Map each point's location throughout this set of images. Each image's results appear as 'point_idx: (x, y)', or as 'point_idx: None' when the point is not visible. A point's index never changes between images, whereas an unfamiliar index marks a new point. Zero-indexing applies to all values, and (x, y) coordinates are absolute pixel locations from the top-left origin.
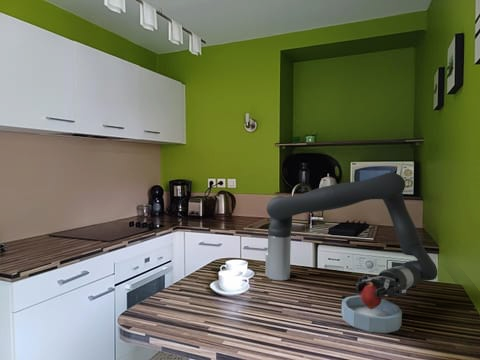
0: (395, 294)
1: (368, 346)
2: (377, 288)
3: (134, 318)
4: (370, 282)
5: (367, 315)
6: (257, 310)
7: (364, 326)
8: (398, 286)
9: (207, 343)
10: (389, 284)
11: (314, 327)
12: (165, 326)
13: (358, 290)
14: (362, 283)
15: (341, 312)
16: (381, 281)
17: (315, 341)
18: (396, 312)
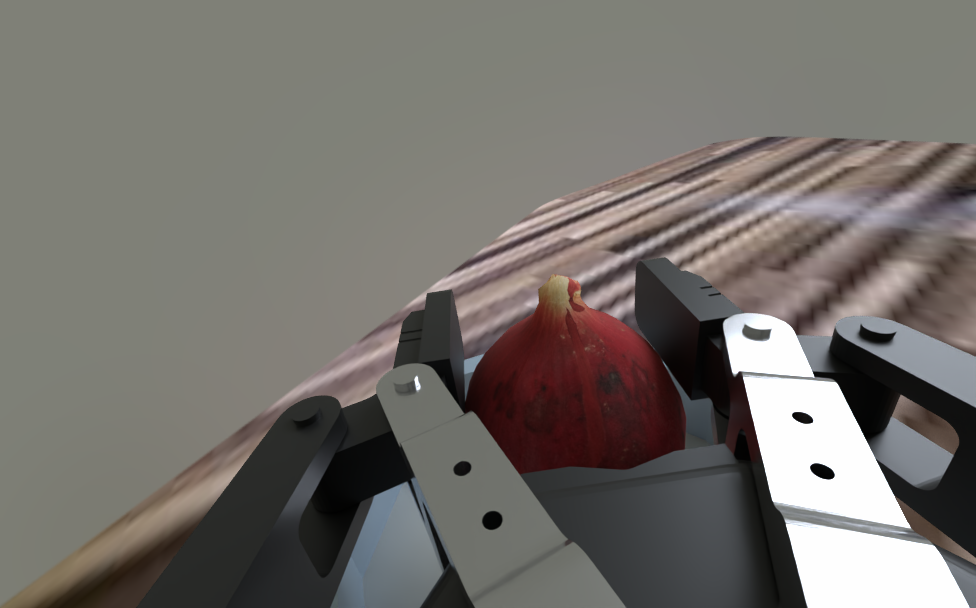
0: (313, 547)
1: (394, 359)
2: (518, 382)
3: (749, 142)
4: (566, 279)
5: (466, 370)
6: (792, 233)
7: None
8: (228, 582)
9: (611, 182)
10: (451, 570)
11: (602, 300)
12: (703, 158)
13: (637, 317)
14: (671, 299)
15: None
16: (658, 538)
17: (519, 276)
18: (337, 593)
